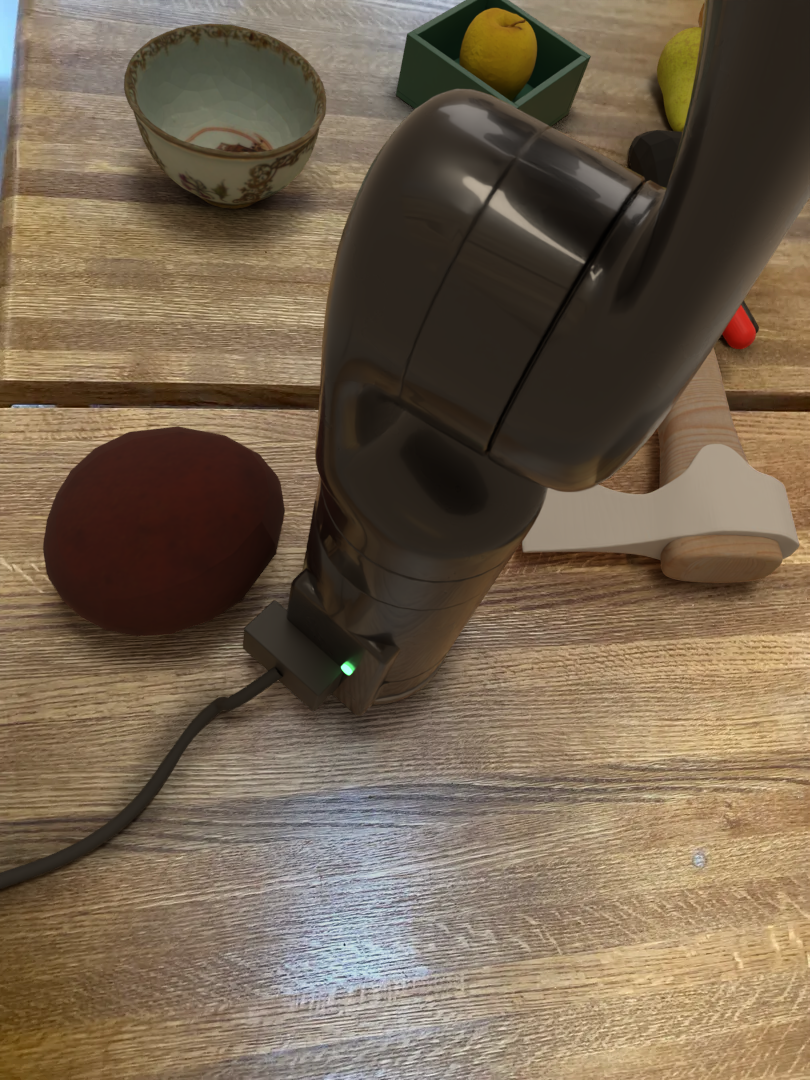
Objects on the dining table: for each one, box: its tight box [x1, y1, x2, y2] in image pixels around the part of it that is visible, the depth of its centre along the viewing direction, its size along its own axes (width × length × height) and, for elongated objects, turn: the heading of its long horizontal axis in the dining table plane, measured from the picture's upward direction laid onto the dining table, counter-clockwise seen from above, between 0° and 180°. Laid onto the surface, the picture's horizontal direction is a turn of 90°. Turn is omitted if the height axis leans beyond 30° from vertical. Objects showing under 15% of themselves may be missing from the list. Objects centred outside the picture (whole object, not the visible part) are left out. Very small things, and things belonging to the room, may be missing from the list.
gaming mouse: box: [628, 129, 682, 188], centre depth 72 cm, size 6×15×4 cm, turn 6°
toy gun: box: [721, 300, 760, 350], centre depth 63 cm, size 10×12×5 cm
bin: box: [395, 0, 591, 128], centre depth 73 cm, size 11×11×6 cm
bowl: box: [123, 23, 327, 210], centre depth 62 cm, size 14×13×8 cm
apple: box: [459, 8, 537, 101], centre depth 71 cm, size 6×6×8 cm
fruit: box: [656, 26, 702, 132], centre depth 78 cm, size 6×6×12 cm
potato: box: [42, 425, 286, 638], centre depth 46 cm, size 11×13×10 cm
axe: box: [521, 346, 800, 584], centre depth 61 cm, size 18×5×30 cm
